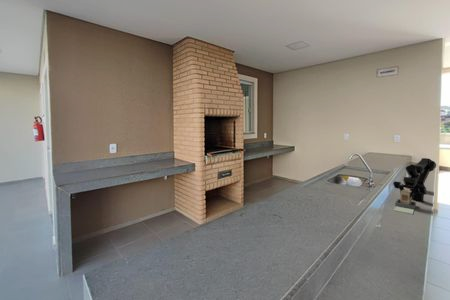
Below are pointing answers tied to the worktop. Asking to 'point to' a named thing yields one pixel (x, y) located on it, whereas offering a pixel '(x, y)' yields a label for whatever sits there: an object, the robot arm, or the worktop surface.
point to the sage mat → (404, 210)
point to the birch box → (405, 197)
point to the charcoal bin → (412, 206)
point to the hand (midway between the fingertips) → (405, 196)
